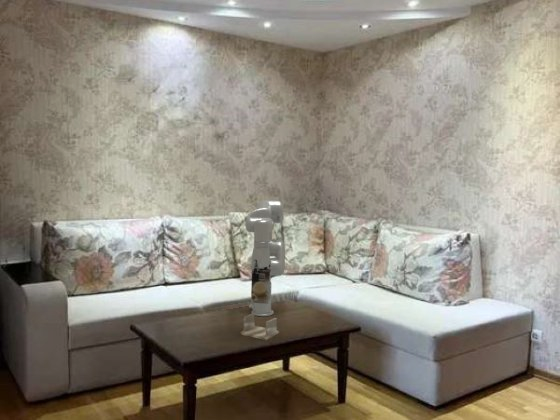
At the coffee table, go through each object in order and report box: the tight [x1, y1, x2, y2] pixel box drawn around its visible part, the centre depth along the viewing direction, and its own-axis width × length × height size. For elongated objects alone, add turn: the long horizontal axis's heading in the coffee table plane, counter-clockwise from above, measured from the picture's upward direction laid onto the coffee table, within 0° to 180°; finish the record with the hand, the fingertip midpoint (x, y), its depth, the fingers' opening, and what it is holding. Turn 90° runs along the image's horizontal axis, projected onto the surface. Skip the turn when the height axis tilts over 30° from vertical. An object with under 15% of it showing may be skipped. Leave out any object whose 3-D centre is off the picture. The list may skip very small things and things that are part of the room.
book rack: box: [240, 313, 280, 341], centre depth 252 cm, size 15×12×8 cm
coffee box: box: [250, 269, 272, 304], centre depth 251 cm, size 9×6×16 cm
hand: (260, 279), depth 250 cm, fingers closed on coffee box, 8 cm apart
